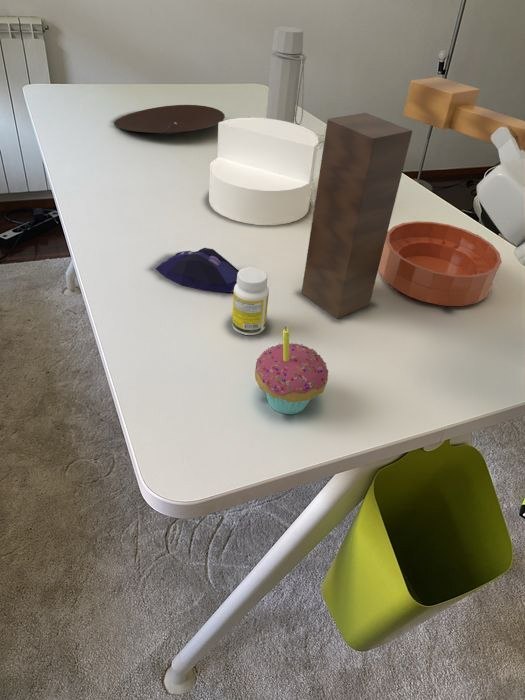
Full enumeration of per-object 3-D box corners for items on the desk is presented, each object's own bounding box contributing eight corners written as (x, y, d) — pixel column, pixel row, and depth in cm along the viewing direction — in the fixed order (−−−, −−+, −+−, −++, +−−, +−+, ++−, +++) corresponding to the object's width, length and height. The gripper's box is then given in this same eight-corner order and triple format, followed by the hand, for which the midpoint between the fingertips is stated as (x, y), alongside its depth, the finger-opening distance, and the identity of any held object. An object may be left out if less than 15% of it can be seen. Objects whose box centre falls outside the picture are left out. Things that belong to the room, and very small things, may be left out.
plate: (152, 104, 155) (151, 90, 153) (242, 124, 148) (242, 110, 146) (90, 129, 135) (89, 114, 133) (191, 154, 128) (191, 138, 125)
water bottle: (259, 143, 137) (268, 29, 122) (268, 134, 143) (278, 24, 128) (295, 150, 136) (308, 35, 120) (302, 140, 142) (316, 30, 126)
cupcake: (285, 436, 62) (298, 354, 54) (237, 394, 66) (243, 313, 59) (336, 404, 66) (355, 324, 59) (288, 367, 71) (300, 288, 63)
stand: (369, 305, 84) (412, 130, 68) (337, 319, 80) (374, 138, 64) (333, 281, 89) (365, 112, 72) (301, 293, 85) (327, 118, 69)
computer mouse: (179, 249, 92) (179, 227, 90) (258, 275, 88) (260, 252, 86) (147, 273, 86) (146, 250, 83) (231, 302, 81) (233, 279, 79)
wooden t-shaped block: (537, 147, 62) (552, 110, 59) (511, 154, 59) (525, 115, 56) (430, 110, 70) (439, 76, 68) (402, 115, 67) (411, 80, 65)
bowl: (483, 263, 98) (494, 232, 94) (493, 319, 84) (507, 286, 80) (380, 244, 100) (388, 214, 96) (374, 297, 86) (383, 263, 82)
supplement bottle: (246, 312, 80) (250, 261, 75) (272, 326, 78) (278, 274, 72) (224, 325, 77) (227, 274, 72) (250, 340, 75) (254, 288, 69)
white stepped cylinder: (189, 206, 106) (189, 135, 98) (240, 175, 120) (244, 111, 112) (281, 235, 100) (290, 162, 91) (324, 199, 114) (334, 133, 106)
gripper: (653, 191, 61) (577, 97, 64) (565, 232, 50) (478, 116, 53) (602, 225, 66) (534, 136, 69) (512, 269, 55) (435, 162, 58)
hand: (509, 128), depth 61 cm, fingers closed on wooden t-shaped block, 3 cm apart
